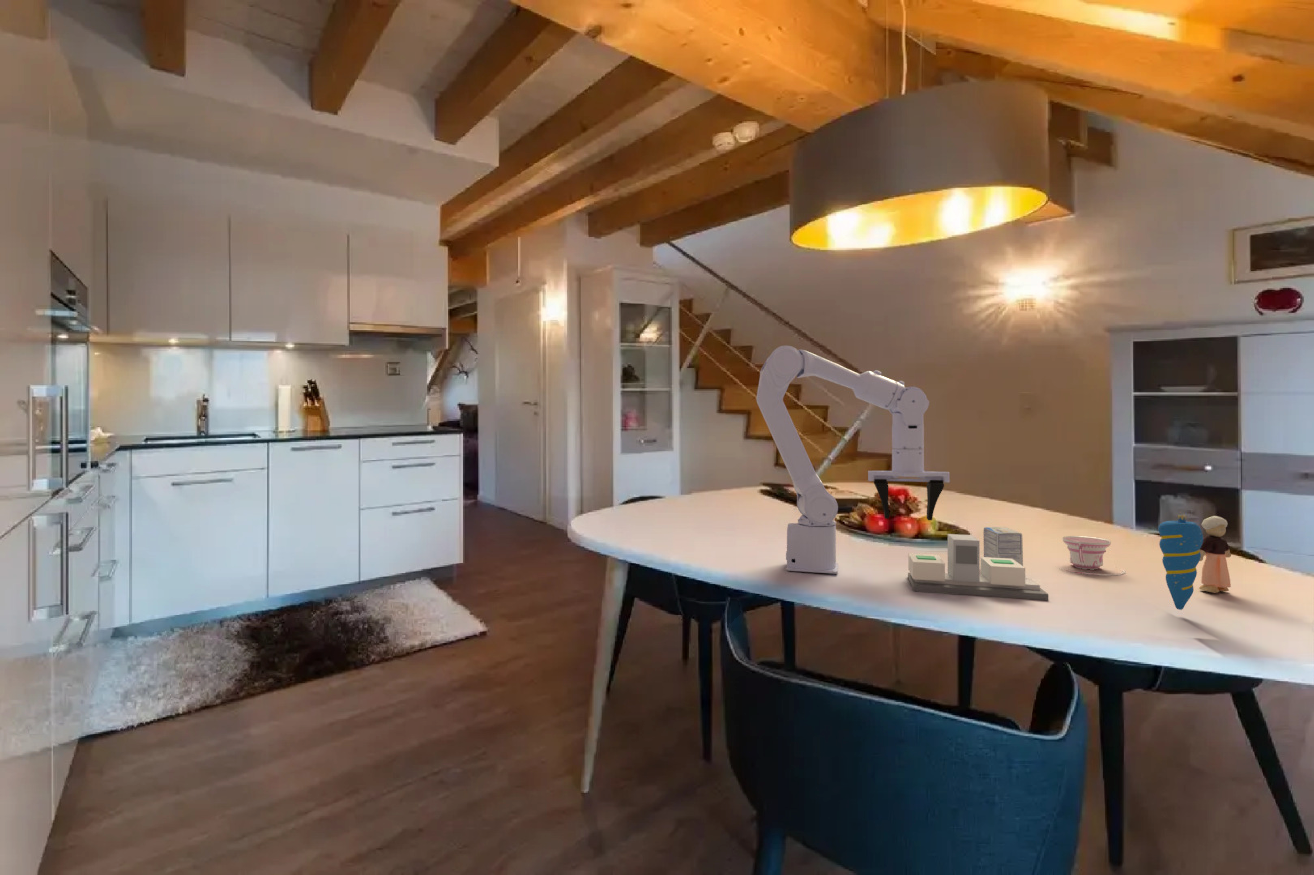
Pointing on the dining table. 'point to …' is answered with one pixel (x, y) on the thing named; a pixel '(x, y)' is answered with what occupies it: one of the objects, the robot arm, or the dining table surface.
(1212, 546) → the grandmother figurine
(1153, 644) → the dining table surface
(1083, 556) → the teacup
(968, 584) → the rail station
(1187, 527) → the ornament
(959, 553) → the loose module
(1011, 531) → the medicine box
